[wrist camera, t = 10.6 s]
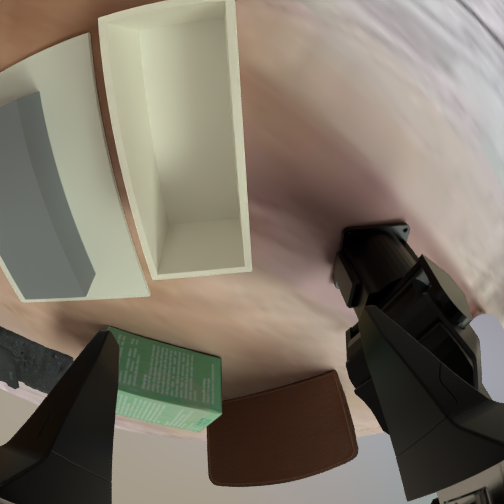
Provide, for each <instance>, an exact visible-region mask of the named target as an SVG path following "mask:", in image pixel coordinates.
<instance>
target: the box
mask: <svg viewBox="0 0 504 504" xmlns="http://www.w3.org/2000/svg"><path fill="white" fill-rule="evenodd" d="M106 330H110V331H111V332H112V333H113V335H114V337H115V339H116V340H117V342H118V344H119V383H118V394H117V403H116V413H115V414H119V415H123V416H126V417H130V418H134V419H138V420H141V421H145V422H150V423H154V424H159V425H164V426H169V427H174V428H179V429H185V430H190V431H196V432H200V431H201V430H203V429H204V428H205V427H207V426H208V425H209V424H211V423H212V422H213V421H214V420H216V419H217V418H218V417H220V416H221V415H222V372H221V358H218V357H214V356H210V355H206V354H202V353H198V352H194V351H191V350H187V349H183V348H180V347H176V346H172V345H168V344H165V343H161V342H158V341H154V340H151V339H148V338H144V337H141V336H138V335H135V334H132V333H129V332H126V331H123V330H120V329H117V328H114V327H111V326H109V327H108V328H107V329H106Z"/></svg>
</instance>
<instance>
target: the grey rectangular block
mask: <svg viewBox="0 0 504 504" xmlns="http://www.w3.org/2000/svg"><path fill="white" fill-rule="evenodd" d="M0 256H1V258H2V260H3V262H4V263H5V265H6V267H7V269H8V271H9V273H10V274H11V276H12V278H13V280H14V281H15V283H16V285H17V287H18V288H19V290H20V292H21V293H22V295H23V297H24V298H25V300H28V299H53V298H74V297H86V296H87V293H88V291H89V289H90V286H91V284H92V282H93V279H94V277H95V275H96V273H95V271H94V268H93V266H92V264H91V261H90V259H89V257H88V254H87V252H86V250H85V247H84V245H83V242H82V240H81V237H80V234H79V232H78V229H77V227H76V224H75V221H74V219H73V216H72V213H71V210H70V207H69V204H68V201H67V198H66V195H65V192H64V189H63V186H62V183H61V180H60V176H59V173H58V170H57V166H56V163H55V159H54V155H53V152H52V148H51V144H50V140H49V136H48V131H47V127H46V122H45V118H44V113H43V108H42V102H41V97H40V91H38V92H35V93H32V94H29V95H26V96H23V97H20V98H17V99H15V100H13V101H11V102H9V103H7V104H5V105H3V106H1V107H0Z"/></svg>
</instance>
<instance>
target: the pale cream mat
mask: <svg viewBox="0 0 504 504" xmlns="http://www.w3.org/2000/svg"><path fill="white" fill-rule="evenodd" d="M38 91H40V97H41V102H42V108H43V113H44V118H45V122H46V127H47V131H48V136H49V140H50V144H51V148H52V152H53V155H54V159H55V163H56V166H57V170H58V173H59V176H60V180H61V183H62V186H63V189H64V192H65V195H66V198H67V201H68V204H69V207H70V210H71V213H72V216H73V219H74V221H75V224H76V227H77V229H78V232H79V234H80V237H81V240H82V242H83V245H84V247H85V250H86V252H87V254H88V257H89V259H90V261H91V264H92V266H93V268H94V271H95V273H96V275H95V277H94V279H93V282H92V284H91V286H90V289H89V291H88V293H87V296H86V297H74V298H53V299H28V300H25V298H24V297H23V295H22V293H21V292H20V290H19V288H18V287H17V285H16V283H15V281H14V280H13V278H12V276H11V274H10V273H9V271H8V269H7V267H6V265H5V263H4V262H3V260H2V258H1V256H0V266H1V268H2V270H3V272H4V273H5V275H6V277H7V279H8V280H9V282H10V284H11V286H12V287H13V289H14V291H15V292H16V294H17V295H18V297H19V299H20V300H21V302H50V301H76V300H97V299H115V298H132V297H147V296H150V290H149V288H148V285H147V282H146V279H145V277H144V274H143V271H142V268H141V265H140V262H139V259H138V256H137V253H136V250H135V247H134V244H133V240H132V237H131V234H130V231H129V227H128V224H127V221H126V217H125V214H124V210H123V207H122V203H121V199H120V196H119V192H118V188H117V184H116V180H115V176H114V172H113V168H112V164H111V159H110V155H109V151H108V146H107V141H106V137H105V132H104V127H103V121H102V116H101V110H100V105H99V99H98V92H97V86H96V79H95V72H94V64H93V55H92V45H91V35H90V33H85V34H82V35H79V36H77V37H74V38H71V39H69V40H66V41H64V42H61V43H59V44H57V45H54V46H52V47H50V48H47V49H45V50H43V51H41V52H39V53H36V54H34V55H32V56H30V57H28V58H26V59H24V60H22V61H20V62H18V63H17V64H15V65H13V66H11V67H9V68H7V69H6V70H4V71H2V72H0V107H1V106H3V105H5V104H7V103H9V102H11V101H13V100H15V99H17V98H20V97H23V96H26V95H29V94H32V93H35V92H38Z"/></svg>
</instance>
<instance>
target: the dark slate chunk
mask: <svg viewBox="0 0 504 504" xmlns="http://www.w3.org/2000/svg"><path fill="white" fill-rule="evenodd" d="M73 362H74V361H73V358H72V357H70V356H68V355H65V354H63V353H61V352H59V351H56V350H52V349H49V348H46V347H45V346H43V345H40V344H38V343H36V342H33V341H31V340H29V339H27V338H25V337H22V336H20V335H18V334H16V333H14V332H12V331H9V330H6V329H5V328H3V327H0V381H3V382H6V383H7V384H8V386H10V387H12V388H14V389H17V388H19V383H18V381H21V382H23V383H25V385H27V386H30V387H31V388H33V389H37V390H39V391H41V392H44V393H47V394H49V393H50V391H51V390H52V389H53V387H54V386H55V385H56V383H57V382H58V381H59V380H60V378H61V377H62V376H63V374H64V373H65V372H66V371H67V369H68V368H69V367H70V366H71V364H72V363H73Z"/></svg>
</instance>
